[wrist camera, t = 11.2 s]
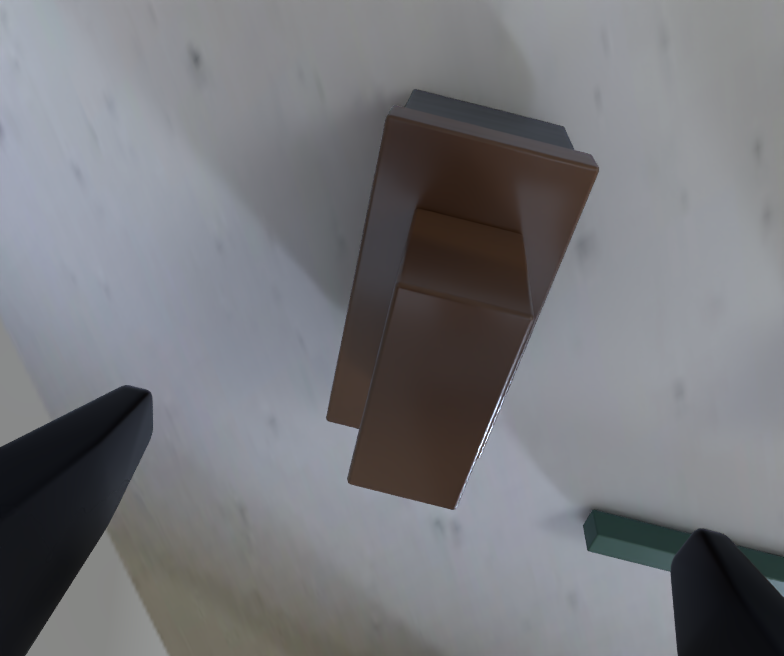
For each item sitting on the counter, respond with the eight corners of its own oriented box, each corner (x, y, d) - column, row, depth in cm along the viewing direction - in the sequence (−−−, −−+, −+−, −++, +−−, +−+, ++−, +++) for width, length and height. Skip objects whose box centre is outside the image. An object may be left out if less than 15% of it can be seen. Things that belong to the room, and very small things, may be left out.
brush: (480, 374, 20) (479, 571, 13) (351, 341, 20) (290, 524, 13) (575, 120, 15) (640, 240, 9) (407, 78, 15) (353, 168, 9)
